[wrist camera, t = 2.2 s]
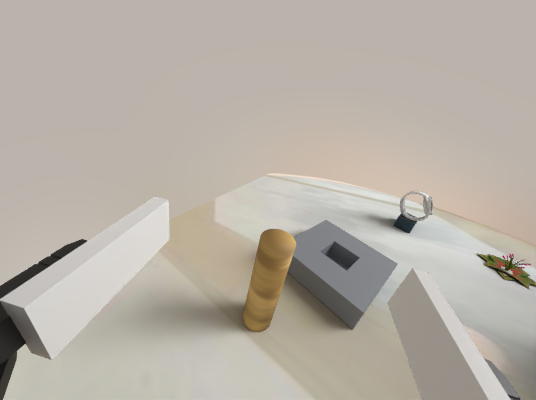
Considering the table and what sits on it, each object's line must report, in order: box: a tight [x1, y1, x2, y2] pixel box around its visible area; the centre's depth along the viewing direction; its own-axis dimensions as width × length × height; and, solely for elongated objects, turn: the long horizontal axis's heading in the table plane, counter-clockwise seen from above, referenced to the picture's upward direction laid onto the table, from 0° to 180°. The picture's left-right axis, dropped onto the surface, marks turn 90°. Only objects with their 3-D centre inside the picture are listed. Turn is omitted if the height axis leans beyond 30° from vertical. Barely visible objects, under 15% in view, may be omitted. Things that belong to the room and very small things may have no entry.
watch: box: [394, 191, 433, 233], centre depth 60 cm, size 6×8×11 cm
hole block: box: [288, 220, 397, 329], centre depth 40 cm, size 16×16×4 cm
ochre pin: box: [243, 229, 296, 332], centre depth 27 cm, size 4×4×14 cm
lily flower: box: [477, 253, 536, 289], centre depth 52 cm, size 12×12×5 cm
